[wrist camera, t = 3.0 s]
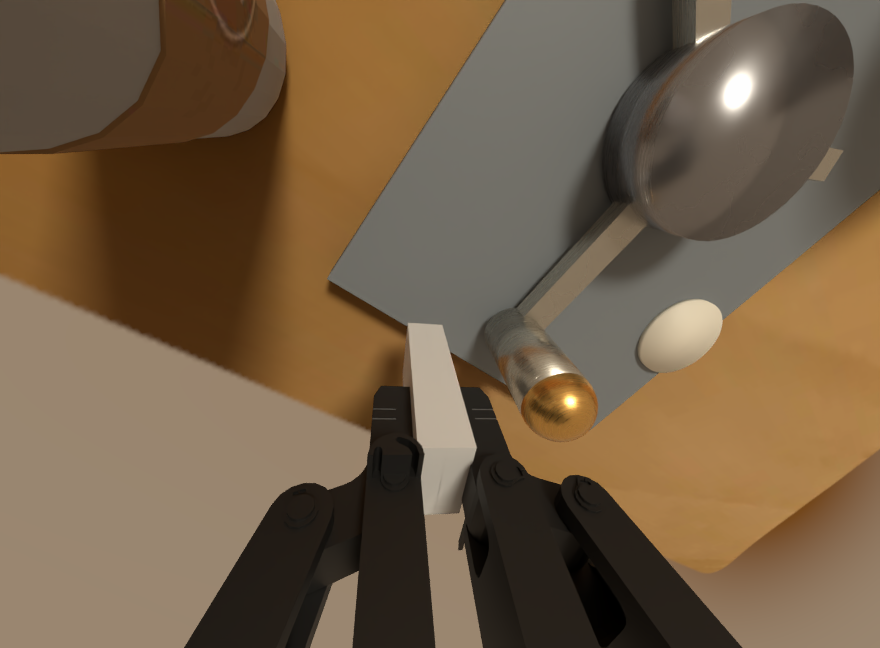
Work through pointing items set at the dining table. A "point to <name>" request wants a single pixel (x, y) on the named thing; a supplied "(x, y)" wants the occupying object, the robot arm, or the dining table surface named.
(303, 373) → the dining table surface
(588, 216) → the stand plate
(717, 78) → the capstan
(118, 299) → the dining table surface
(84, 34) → the coffee cup
